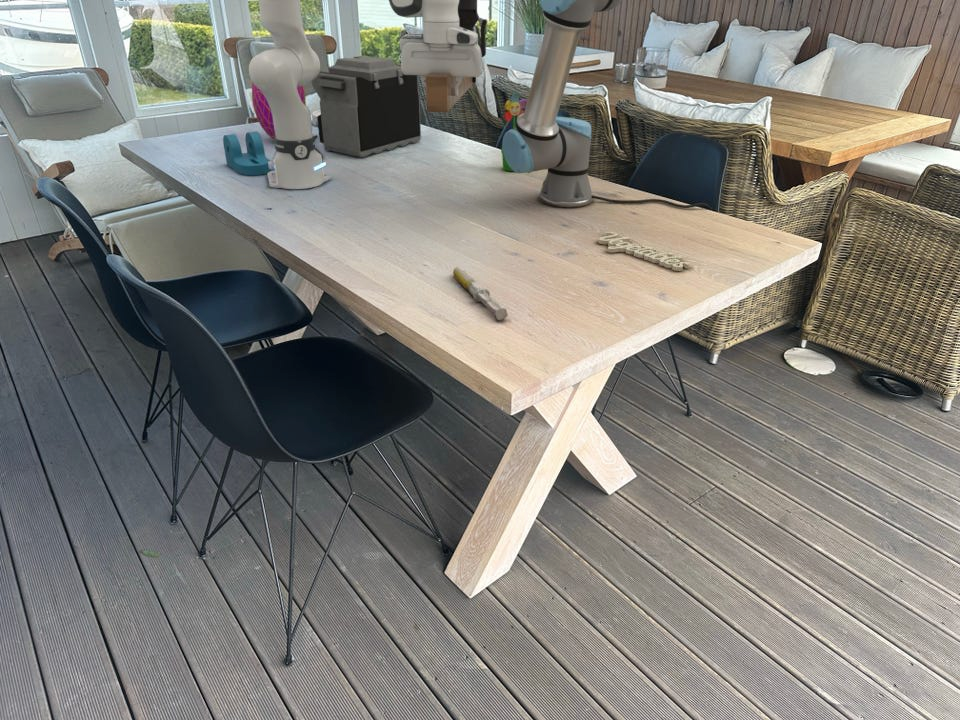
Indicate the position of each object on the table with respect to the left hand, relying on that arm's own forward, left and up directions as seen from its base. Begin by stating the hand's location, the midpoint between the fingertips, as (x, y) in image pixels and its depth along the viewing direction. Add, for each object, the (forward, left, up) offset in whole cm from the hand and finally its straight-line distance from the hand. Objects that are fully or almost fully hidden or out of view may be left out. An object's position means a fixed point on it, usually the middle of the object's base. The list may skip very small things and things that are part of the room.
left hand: (442, 95), depth 173 cm
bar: (-16, +11, -3) cm, 20 cm away
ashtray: (-130, +15, -32) cm, 134 cm away
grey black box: (-85, +12, -32) cm, 92 cm away
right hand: (-32, +23, -2) cm, 39 cm away
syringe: (+49, -16, -32) cm, 61 cm away
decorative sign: (+46, +30, -32) cm, 64 cm away
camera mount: (-73, -36, -32) cm, 88 cm away
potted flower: (-34, +43, -32) cm, 63 cm away
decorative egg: (-109, -15, -32) cm, 114 cm away
